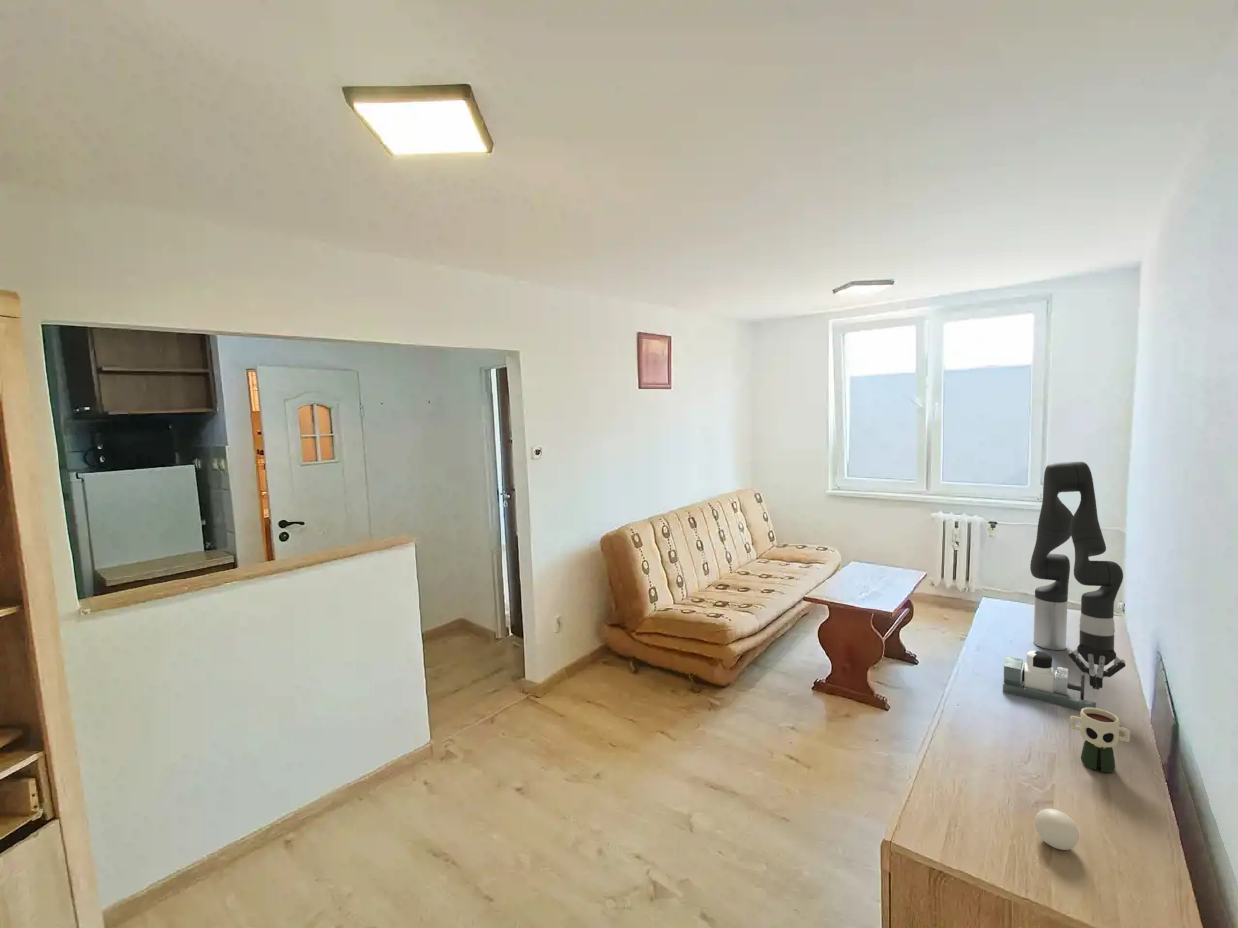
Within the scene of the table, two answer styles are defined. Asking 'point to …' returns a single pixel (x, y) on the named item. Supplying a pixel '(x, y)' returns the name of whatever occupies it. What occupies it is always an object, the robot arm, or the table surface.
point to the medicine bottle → (1039, 671)
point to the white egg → (1056, 829)
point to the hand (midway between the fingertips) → (1095, 687)
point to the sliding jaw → (1067, 683)
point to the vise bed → (1015, 687)
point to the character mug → (1099, 737)
